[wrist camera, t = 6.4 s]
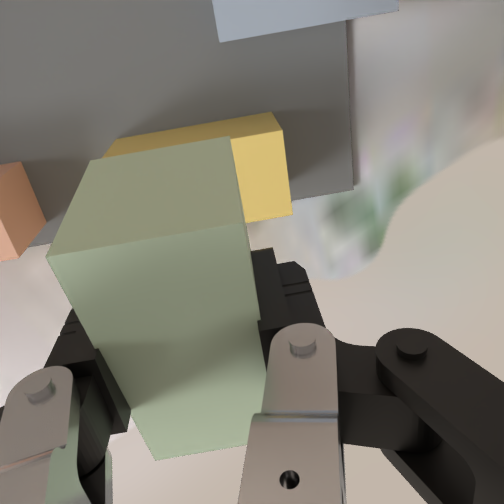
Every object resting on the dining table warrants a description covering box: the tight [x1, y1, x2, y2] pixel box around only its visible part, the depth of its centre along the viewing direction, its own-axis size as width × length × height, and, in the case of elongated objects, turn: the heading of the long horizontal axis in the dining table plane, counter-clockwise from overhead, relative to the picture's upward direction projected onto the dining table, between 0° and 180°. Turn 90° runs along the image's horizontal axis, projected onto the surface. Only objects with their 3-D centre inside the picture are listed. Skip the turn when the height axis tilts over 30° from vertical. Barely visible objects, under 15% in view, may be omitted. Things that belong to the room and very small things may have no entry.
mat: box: [0, 0, 354, 247], centre depth 22 cm, size 22×13×1 cm, turn 99°
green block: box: [46, 136, 267, 460], centre depth 11 cm, size 7×4×4 cm, turn 9°
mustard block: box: [102, 112, 293, 223], centre depth 22 cm, size 8×4×4 cm, turn 99°
